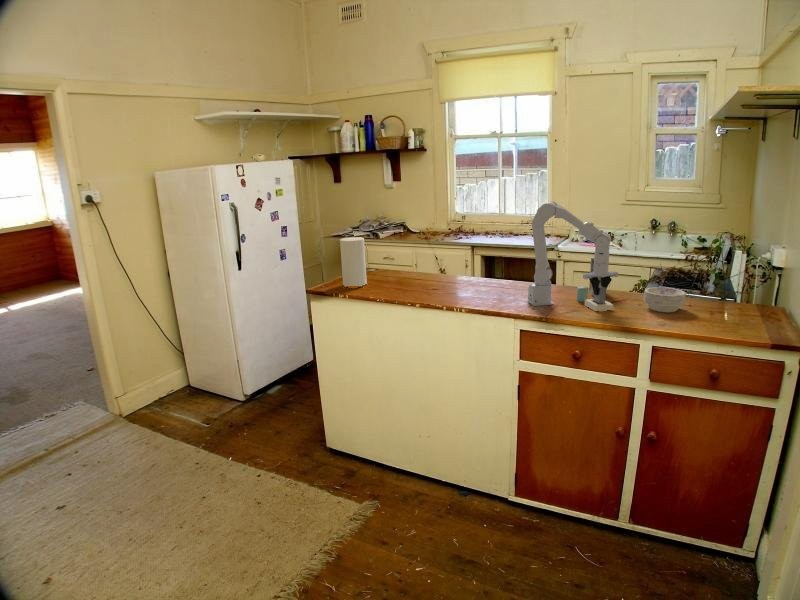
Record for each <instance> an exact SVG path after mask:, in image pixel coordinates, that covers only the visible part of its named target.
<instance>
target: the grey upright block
mask: <svg viewBox="0 0 800 600" xmlns="http://www.w3.org/2000/svg"><path fill="white" fill-rule="evenodd" d="M588 293H589V287H587V286H582V285H580V286H577V288H576V302H580V303H585V300H587V299H588V295H589V294H588Z"/></svg>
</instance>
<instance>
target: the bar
mask: <svg viewBox="0 0 800 600" xmlns="http://www.w3.org/2000/svg"><path fill="white" fill-rule="evenodd" d="M605 295H606V296H607V289H606V288H605V287H604V286H602V285H599V288H598V295H595V294H594V296H593V298H592V299H593V302H594V303H596V304H605V301H606V296H605Z"/></svg>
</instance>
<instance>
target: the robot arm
mask: <svg viewBox="0 0 800 600" xmlns="http://www.w3.org/2000/svg"><path fill="white" fill-rule="evenodd" d="M552 217H554V219H562V220H564V221H566V222H568V223H569V224H571V225H572V226H573V227H575V228H576V229H578V233H579V235H581V236H582V237H584V238H585V239H586V240H588V241H590V242H591V243H593V244H594V247H595V249H594V257H593V258H594V270H593V272H591V273H590V272H587V273H582V279H584V280H588V279H589V283H590V282H591V284H592V287H593V291H594V294H595V295H598V288H599V283H600V280H598V278H600V279H601V285H602V286H604V287H605V288H606V290H607V289H608V287H609V285H610V284H611V282H612V281H613V278H617V277H619V272H618V271H616V270H615V271H609V263H610V244H611V239H612V238H611V236H610V235H609V234H608V233H607V232H606V231H605V232H604V230H603V229H599V228H598V227H597V226H595V225H594V223H593V222H592V221H591V222H590V221H586V222H585V221H584V222H583V220H581V219H579V218H578V217H577V216H576V215H574V214H573V213H572V212H570V211H569V210H568V209H567V208H566V207H564V206H562V205H561V204H559V203H557V202H555V201H552V200H551V201H550V200H549V201H547V202H546V203H545V202H544V203H543V204H542V205H540V206H539V208H538V209H537V210H536V212H535V215H534V217H533V219H532V221H531V227H532V228H531V229H532V238H533V248H534V255H535V257H534V258H535V267H534V268H535V269H534V270H535V272H534V275H533V281H534V283H532V284H529V285H528V288H527V302H528V303H529V304H530V305H532V306H533V307H538V306H548V305H549V306H550V305H555V302H553V301H552V281H551V279H552V277H553V270H552V269H551V266H550V262H549V261H548V251H547V241H546V232H545V225H546V224H547V222H548V221H549V219H551V218H552ZM612 277H613V278H612Z"/></svg>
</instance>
